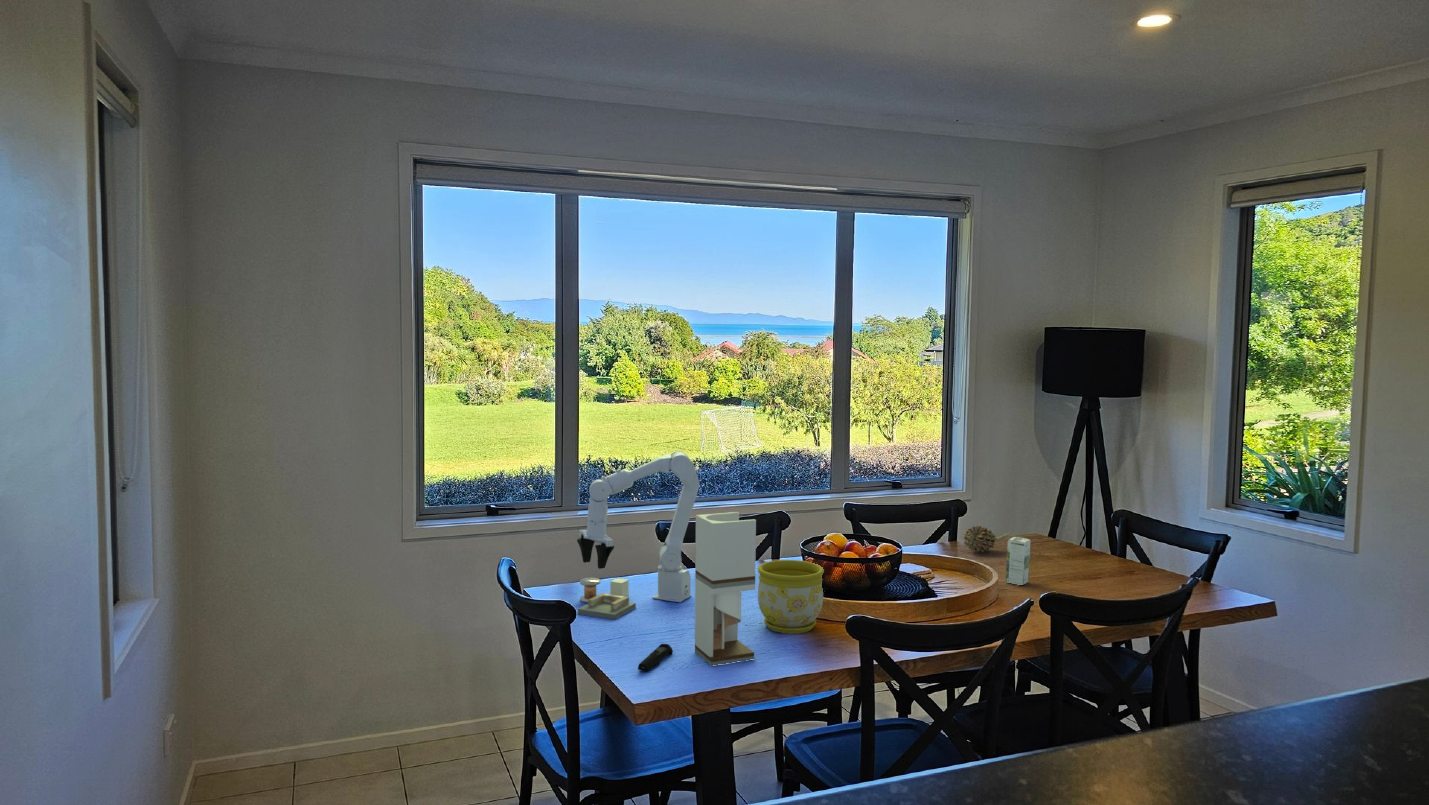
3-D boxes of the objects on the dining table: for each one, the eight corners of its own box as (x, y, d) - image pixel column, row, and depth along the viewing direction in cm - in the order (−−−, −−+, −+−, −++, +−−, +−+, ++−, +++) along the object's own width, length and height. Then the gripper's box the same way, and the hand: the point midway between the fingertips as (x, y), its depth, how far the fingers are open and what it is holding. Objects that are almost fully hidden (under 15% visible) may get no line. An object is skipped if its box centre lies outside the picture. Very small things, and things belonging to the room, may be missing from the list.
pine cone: (976, 557, 329) (977, 530, 329) (956, 551, 338) (957, 525, 337) (1017, 549, 341) (1018, 523, 341) (996, 544, 349) (997, 519, 349)
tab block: (628, 596, 278) (628, 579, 278) (622, 599, 275) (622, 583, 274) (617, 594, 280) (617, 578, 280) (610, 597, 276) (610, 581, 276)
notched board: (635, 608, 266) (635, 596, 266) (614, 619, 255) (614, 607, 255) (600, 602, 271) (600, 591, 271) (578, 614, 260) (577, 602, 260)
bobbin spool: (604, 598, 275) (604, 579, 274) (593, 604, 269) (593, 584, 269) (587, 596, 277) (587, 576, 277) (576, 601, 272) (576, 581, 271)
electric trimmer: (633, 674, 216) (633, 661, 216) (660, 652, 231) (660, 640, 230) (648, 677, 215) (648, 664, 215) (674, 654, 229) (674, 642, 229)
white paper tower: (711, 667, 220) (712, 523, 217) (694, 652, 230) (695, 515, 227) (754, 660, 225) (755, 520, 222) (736, 646, 234) (737, 511, 232)
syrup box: (1011, 579, 300) (1012, 536, 299) (1029, 582, 297) (1030, 538, 296) (1005, 583, 295) (1006, 539, 294) (1023, 586, 292) (1025, 542, 291)
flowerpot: (786, 612, 264) (787, 556, 262) (836, 627, 251) (837, 568, 249) (743, 626, 251) (744, 567, 250) (793, 642, 238) (794, 580, 237)
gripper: (572, 516, 275) (568, 560, 276) (600, 526, 264) (597, 572, 265) (591, 514, 280) (588, 558, 281) (620, 524, 269) (616, 569, 270)
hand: (593, 565), depth 273 cm, fingers open, 7 cm apart
